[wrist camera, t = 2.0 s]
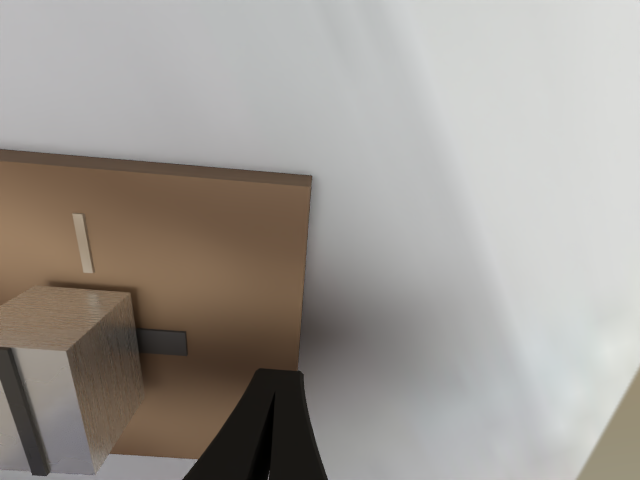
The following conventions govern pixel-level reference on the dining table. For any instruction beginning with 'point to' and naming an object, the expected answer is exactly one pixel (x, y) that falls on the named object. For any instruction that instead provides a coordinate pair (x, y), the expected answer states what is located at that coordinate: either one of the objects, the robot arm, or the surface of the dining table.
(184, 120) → the dining table surface
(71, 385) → the fader knob
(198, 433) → the fader console
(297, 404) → the robot arm
